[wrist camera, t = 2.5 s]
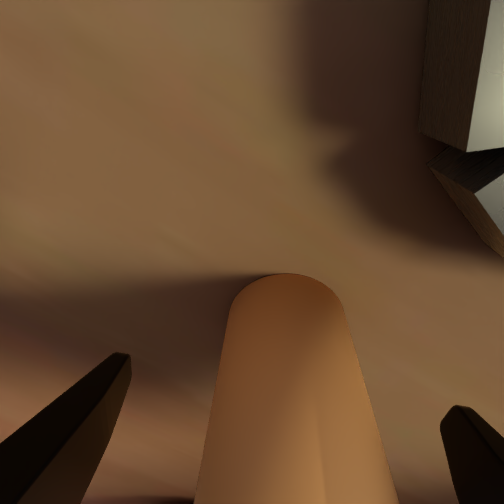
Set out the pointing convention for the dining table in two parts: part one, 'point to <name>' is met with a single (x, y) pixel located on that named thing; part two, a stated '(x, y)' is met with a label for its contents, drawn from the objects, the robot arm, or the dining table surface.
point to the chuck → (467, 108)
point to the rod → (291, 405)
